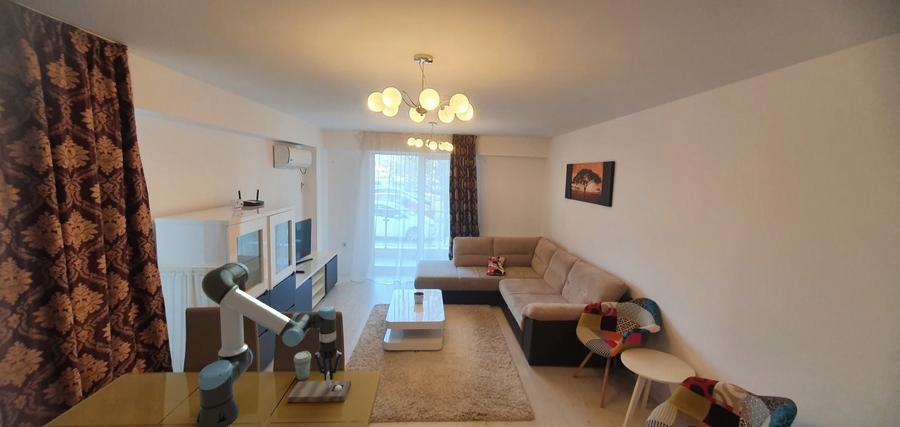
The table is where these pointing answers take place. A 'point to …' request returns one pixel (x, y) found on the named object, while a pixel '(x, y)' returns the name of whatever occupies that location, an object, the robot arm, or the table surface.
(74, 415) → the table surface
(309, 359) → the coffee cup
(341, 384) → the deck
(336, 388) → the ball
